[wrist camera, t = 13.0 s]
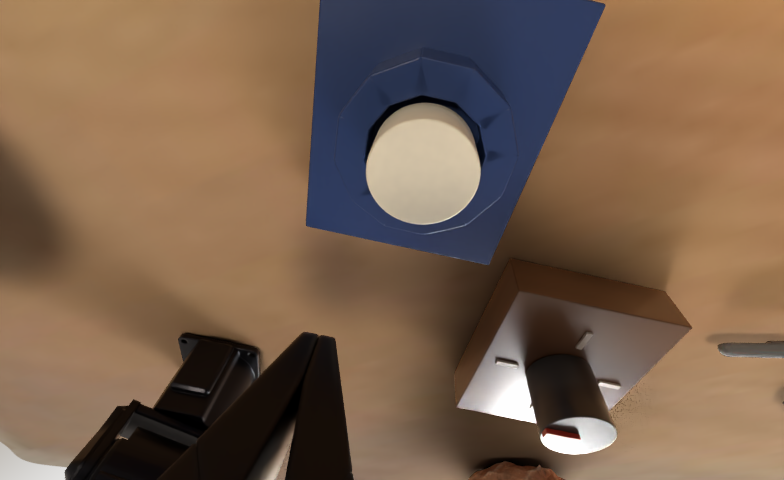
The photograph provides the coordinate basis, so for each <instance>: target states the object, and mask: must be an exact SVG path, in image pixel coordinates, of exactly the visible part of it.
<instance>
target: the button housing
mask: <svg viewBox="0 0 784 480" xmlns="http://www.w3.org/2000/svg"><path fill="white" fill-rule="evenodd" d="M604 8H605V4H604V3H600V2H595V1H591V0H320V8H319V24H318V40H317V56H316V71H315V87H314V103H313V119H312V135H311V150H310V166H309V182H308V198H307V214H306V226H308V227H313V228H317V229H322V230H327V231H331V232H336V233H341V234H345V235H350V236H355V237H359V238H364V239H369V240H373V241H378V242H383V243H387V244H392V245H397V246H401V247H406V248H411V249H415V250H420V251H425V252H429V253H434V254H439V255H443V256H448V257H453V258H457V259H462V260H467V261H471V262H476V263H481V264H485V265H489V264H490V261H491V259H492V257H493V255H494V252H495V250H496V248H497V246H498V244H499V241H500V239H501V237H502V235H503V232H504V230H505V228H506V226H507V224H508V221H509V219H510V217H511V215H512V212H513V210H514V208H515V206H516V204H517V201H518V199H519V197H520V195H521V192H522V190H523V188H524V186H525V184H526V181H527V179H528V177H529V175H530V172H531V170H532V168H533V166H534V164H535V161H536V159H537V157H538V155H539V152H540V150H541V148H542V146H543V144H544V141H545V139H546V137H547V135H548V132H549V130H550V128H551V126H552V124H553V121H554V119H555V117H556V115H557V112H558V110H559V108H560V106H561V104H562V101H563V99H564V97H565V95H566V92H567V90H568V88H569V86H570V84H571V81H572V79H573V77H574V75H575V72H576V70H577V68H578V66H579V64H580V61H581V59H582V57H583V55H584V52H585V50H586V48H587V46H588V44H589V41H590V39H591V37H592V35H593V32H594V30H595V28H596V26H597V24H598V21H599V19H600V17H601V15H602V12H603V10H604ZM416 103H434V104H439V105H442V106H445V107H447V108H449V109H451V110H453V111H454V112H456V113H457V114H458V115H459V116H461V117H462V118H463V120H464V121H465V122H466V123H467V125H468V126H469V128H470V130H471V132H472V134H473V137H474V140H475V144H476V148H477V152H478V156H479V160H480V167H481V175H480V182H479V185H478V189H477V191H476V193H475V195H474V197H473V198H472V200H471V201H470V202H469V204H468V205H467V206H466V207H465V208H464V209H463V210H462V211H461V212H459V213H458V214H456V215H455V216H453V217H451V218H449V219H447V220H445V221H442V222H438V223H434V224H424V225H423V224H412V223H408V222H404V221H401V220H399V219H397V218H395V217H393V216H391V215H390V214H388V213H387V212H385V211H384V210H383V209H382V208H381V207H380V206H379V205H378V203H377V202H376V201H375V199H374V198H373V196H372V194H371V192H370V190H369V187H368V184H367V179H366V163H367V159H368V155H369V153H370V150H371V148H372V145H373V143H374V140H375V138H376V135H377V133H378V131H379V129H380V127H381V126H382V124H383V123H384V122H385V120H386V119H387V118H388V117H389V116H390V115H392V114H393V113H394V112H396V111H397V110H399V109H401V108H403V107H405V106H408V105H412V104H416Z"/></svg>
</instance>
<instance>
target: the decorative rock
mask: <svg viewBox="0 0 784 480" xmlns="http://www.w3.org/2000/svg"><path fill="white" fill-rule="evenodd" d="M468 480H564V479H562V478H560V477H557V475H556V474H555V473H554V472H553V471H552V470H551V469H550V468H542V467H541V466H540V465H538V466H537V467H534V466H528V465H526V466H517V465H515V464H513V463H511V462H507V461H504V462H502V463H496V464H494V465H493V466H491V467H489V468H487V469H484V470H481V471H477V472H475V473H474V474H473V475H472V476H471V477H470V478H469V479H468Z"/></svg>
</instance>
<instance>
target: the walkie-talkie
mask: <svg viewBox="0 0 784 480" xmlns="http://www.w3.org/2000/svg"><path fill="white" fill-rule="evenodd" d="M718 350H719V351H720V353H721V354H722V355H724V356H727V357H759V358H784V341H768V342H766V343H723V344H719V345H718ZM783 404H784V402H783Z"/></svg>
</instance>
